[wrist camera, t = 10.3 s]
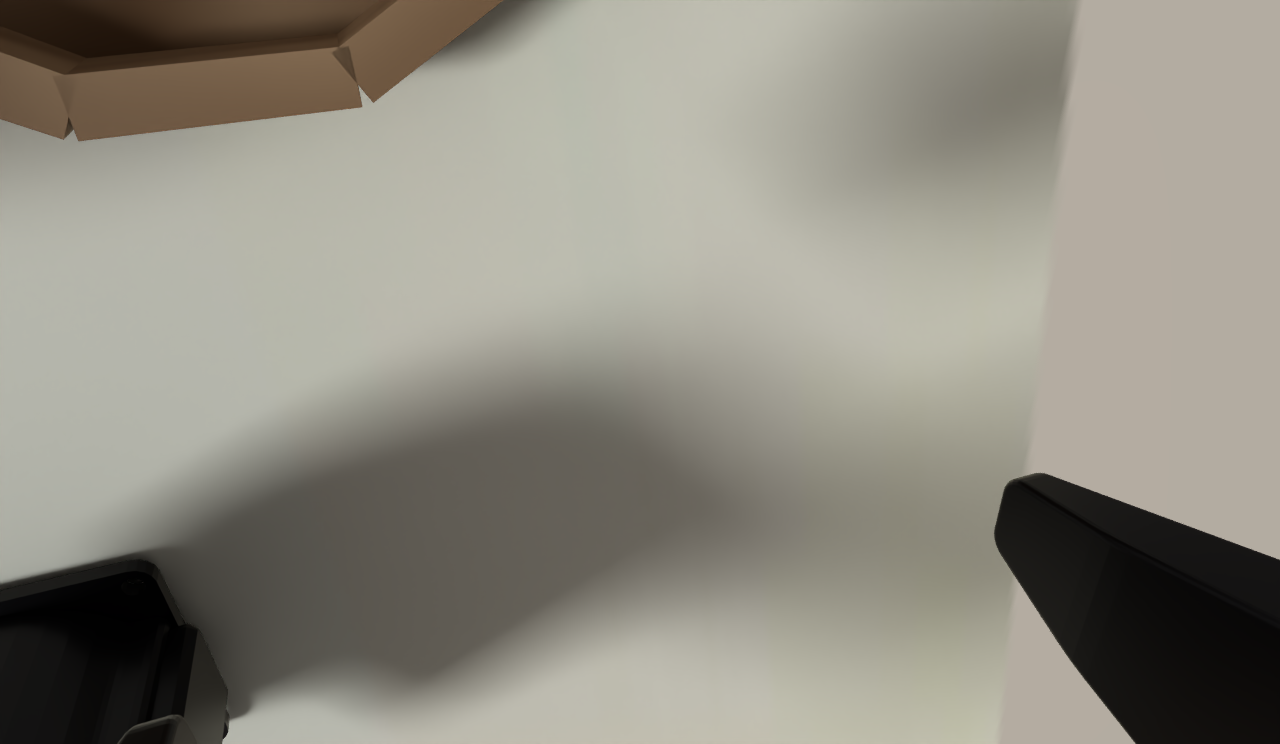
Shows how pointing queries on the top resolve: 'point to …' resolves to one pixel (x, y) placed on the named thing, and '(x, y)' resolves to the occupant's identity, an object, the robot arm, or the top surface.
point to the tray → (208, 59)
